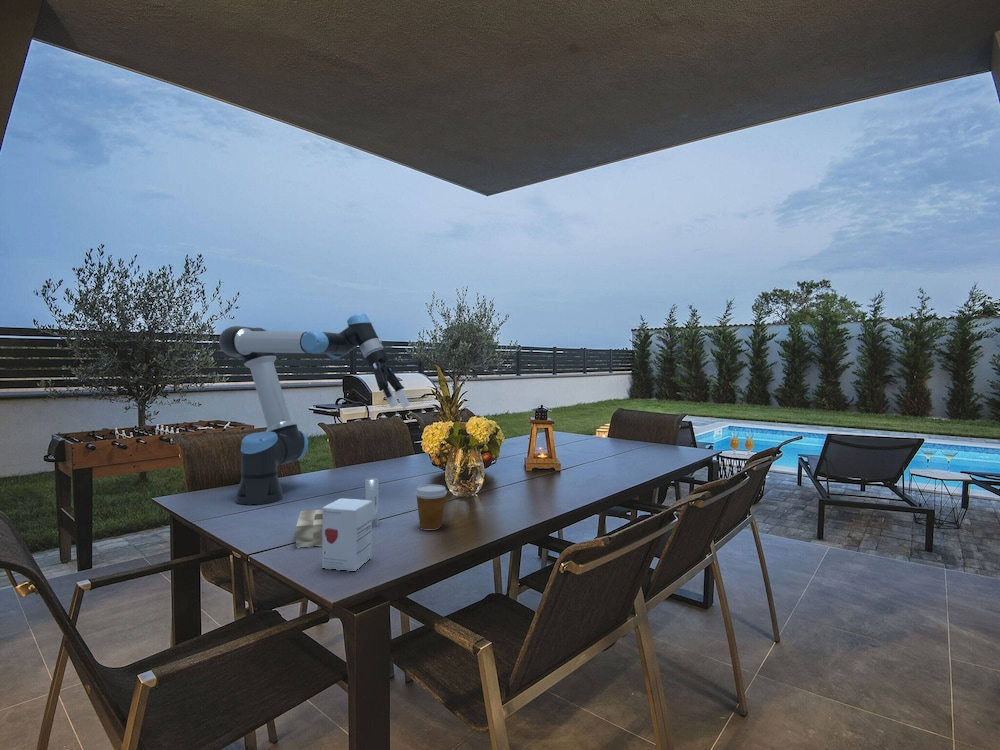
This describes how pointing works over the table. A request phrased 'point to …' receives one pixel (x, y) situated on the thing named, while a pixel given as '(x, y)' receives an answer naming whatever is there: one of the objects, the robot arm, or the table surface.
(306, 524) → the bore block
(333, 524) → the supplement box
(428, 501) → the disposable coffee cup
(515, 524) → the table surface
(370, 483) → the peg
